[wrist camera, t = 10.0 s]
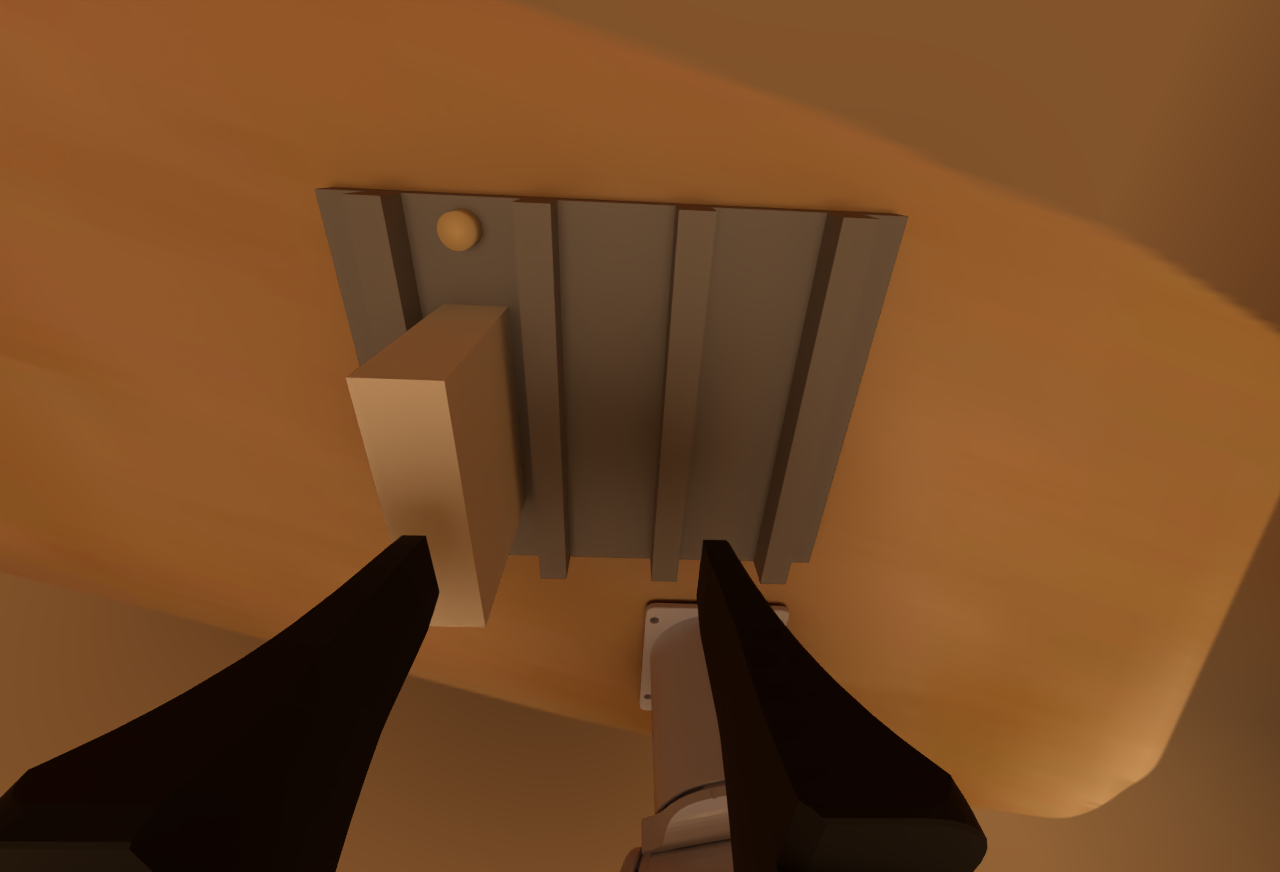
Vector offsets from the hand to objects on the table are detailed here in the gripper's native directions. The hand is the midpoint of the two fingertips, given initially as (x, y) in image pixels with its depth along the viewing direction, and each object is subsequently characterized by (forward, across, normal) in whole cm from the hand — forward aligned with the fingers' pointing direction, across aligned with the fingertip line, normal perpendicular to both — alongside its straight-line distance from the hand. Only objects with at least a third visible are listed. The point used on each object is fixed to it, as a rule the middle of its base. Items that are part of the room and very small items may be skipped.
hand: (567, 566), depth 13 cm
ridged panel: (+10, -1, 0) cm, 10 cm away
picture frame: (+9, +4, 0) cm, 10 cm away
